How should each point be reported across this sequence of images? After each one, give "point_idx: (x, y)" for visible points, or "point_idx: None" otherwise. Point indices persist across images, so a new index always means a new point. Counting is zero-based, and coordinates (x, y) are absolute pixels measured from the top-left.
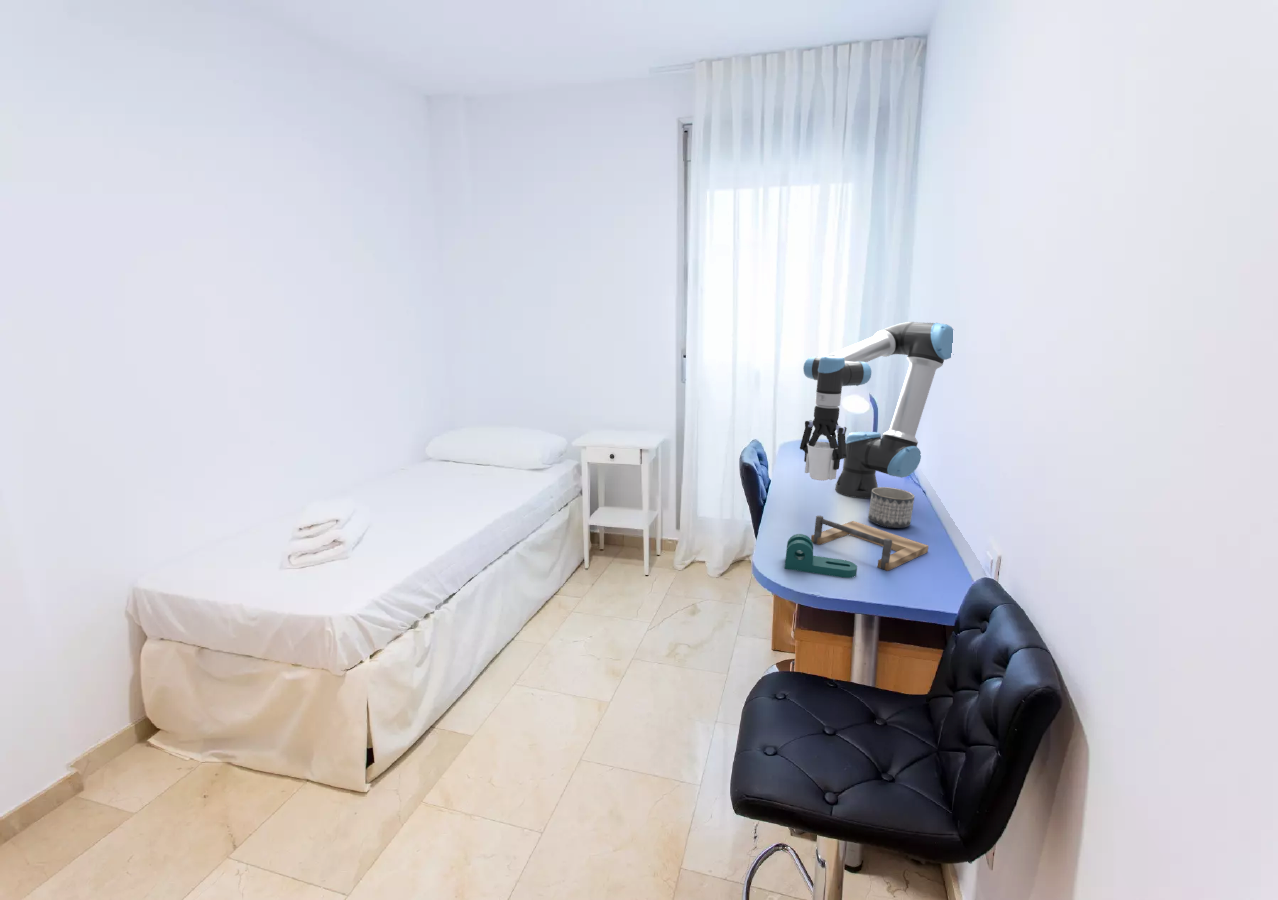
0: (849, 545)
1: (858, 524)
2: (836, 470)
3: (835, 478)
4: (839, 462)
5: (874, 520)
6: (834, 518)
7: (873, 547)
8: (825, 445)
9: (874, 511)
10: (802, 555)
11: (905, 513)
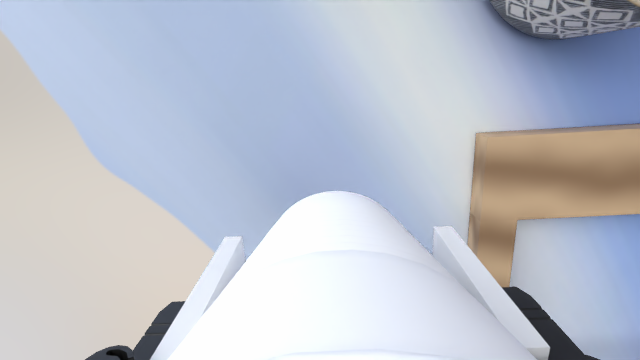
0: (551, 283)
1: (522, 154)
2: (478, 260)
3: (450, 228)
4: (570, 344)
5: (542, 36)
6: (380, 112)
7: (614, 235)
8: (219, 347)
9: (563, 28)
10: None
11: None
